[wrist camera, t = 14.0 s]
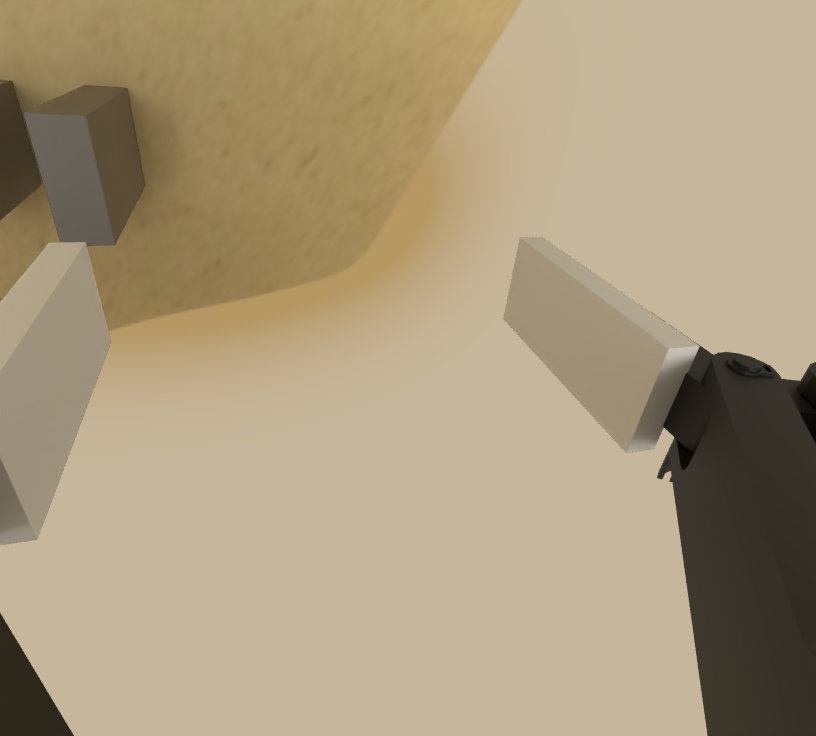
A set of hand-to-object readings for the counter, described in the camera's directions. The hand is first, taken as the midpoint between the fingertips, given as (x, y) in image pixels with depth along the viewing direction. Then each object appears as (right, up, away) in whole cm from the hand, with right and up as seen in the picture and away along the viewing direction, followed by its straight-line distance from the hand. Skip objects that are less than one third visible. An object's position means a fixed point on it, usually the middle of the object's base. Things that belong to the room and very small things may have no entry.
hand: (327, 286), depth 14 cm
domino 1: (-14, +10, +14) cm, 22 cm away
